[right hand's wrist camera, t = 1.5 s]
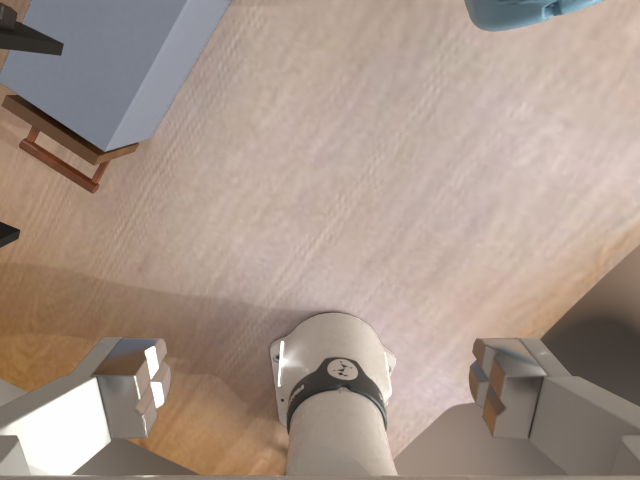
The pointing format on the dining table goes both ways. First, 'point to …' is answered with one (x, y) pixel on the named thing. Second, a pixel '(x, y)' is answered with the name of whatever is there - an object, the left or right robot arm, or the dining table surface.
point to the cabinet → (111, 63)
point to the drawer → (62, 143)
